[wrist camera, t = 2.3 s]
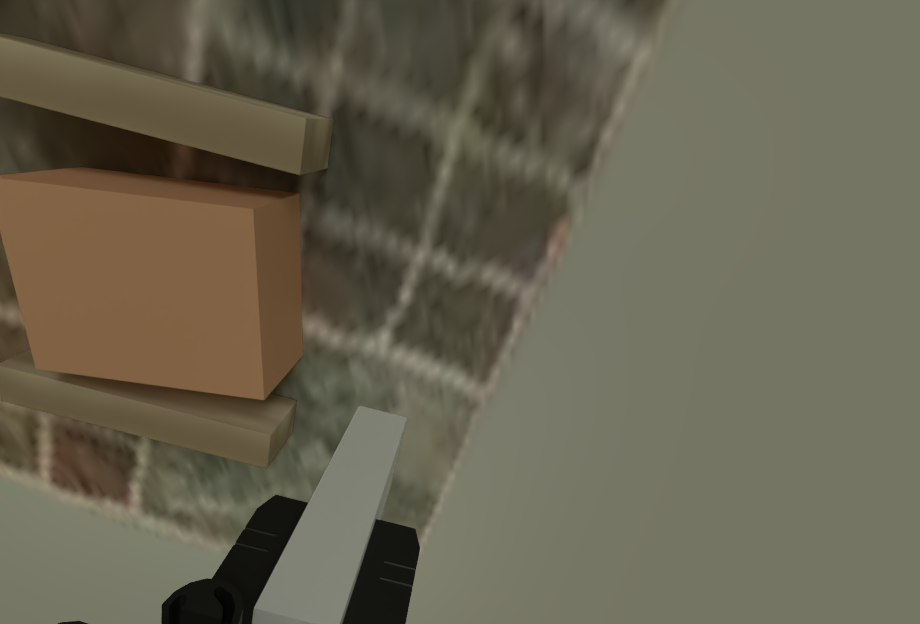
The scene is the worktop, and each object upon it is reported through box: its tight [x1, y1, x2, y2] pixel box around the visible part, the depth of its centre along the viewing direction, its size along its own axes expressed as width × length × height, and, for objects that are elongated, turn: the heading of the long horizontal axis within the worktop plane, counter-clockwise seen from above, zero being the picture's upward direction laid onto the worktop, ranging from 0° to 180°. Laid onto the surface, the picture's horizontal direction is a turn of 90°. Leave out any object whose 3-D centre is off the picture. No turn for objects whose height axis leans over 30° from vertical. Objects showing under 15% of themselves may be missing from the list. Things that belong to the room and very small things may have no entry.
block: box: [0, 167, 303, 400], centre depth 21 cm, size 8×10×4 cm
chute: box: [0, 33, 334, 468], centre depth 21 cm, size 16×13×3 cm
